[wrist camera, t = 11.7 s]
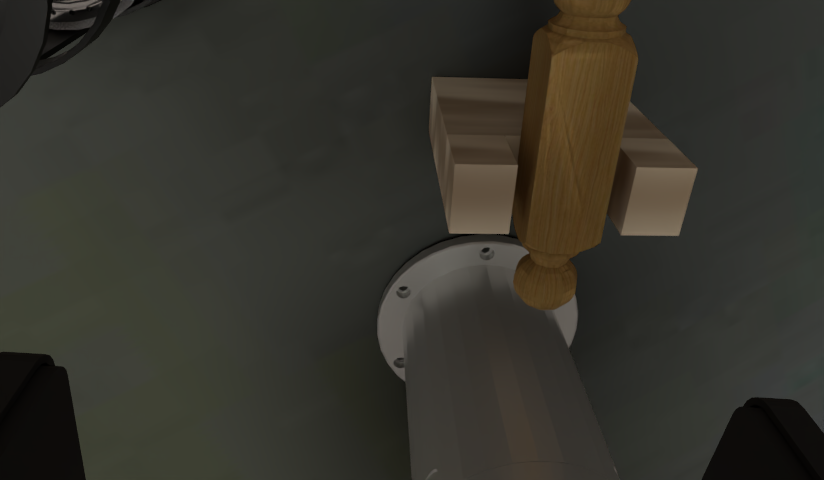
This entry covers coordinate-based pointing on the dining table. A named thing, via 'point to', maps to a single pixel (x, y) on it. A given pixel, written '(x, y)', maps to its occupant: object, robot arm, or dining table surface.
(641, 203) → the block
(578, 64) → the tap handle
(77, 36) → the french press
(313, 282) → the dining table surface
